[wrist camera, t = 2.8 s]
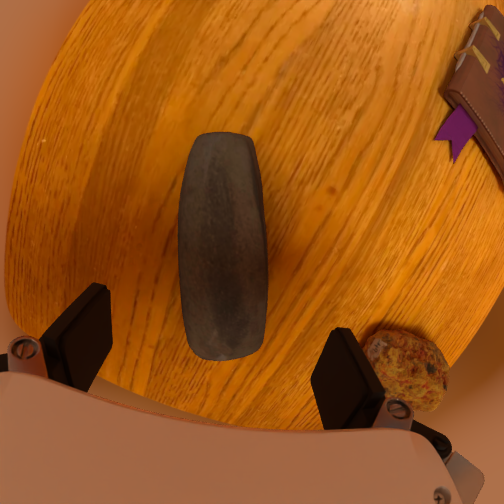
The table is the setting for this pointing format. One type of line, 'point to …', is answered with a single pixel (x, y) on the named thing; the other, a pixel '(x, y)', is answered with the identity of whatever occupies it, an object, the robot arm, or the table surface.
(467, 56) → the book
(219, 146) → the decorative stone
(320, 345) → the table surface
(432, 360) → the rock
